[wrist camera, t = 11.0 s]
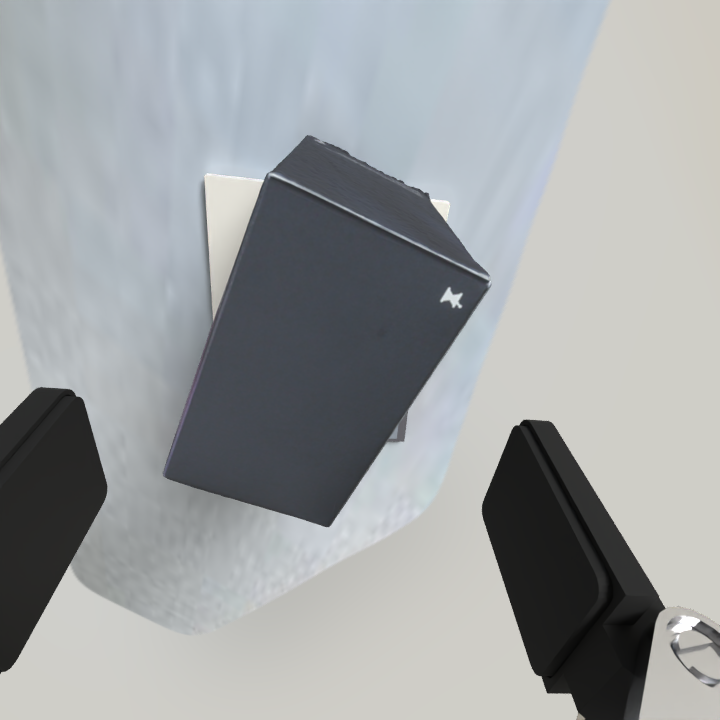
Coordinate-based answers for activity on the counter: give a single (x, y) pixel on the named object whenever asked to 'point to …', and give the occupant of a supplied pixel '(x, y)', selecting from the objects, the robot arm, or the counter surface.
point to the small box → (322, 335)
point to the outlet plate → (237, 223)
